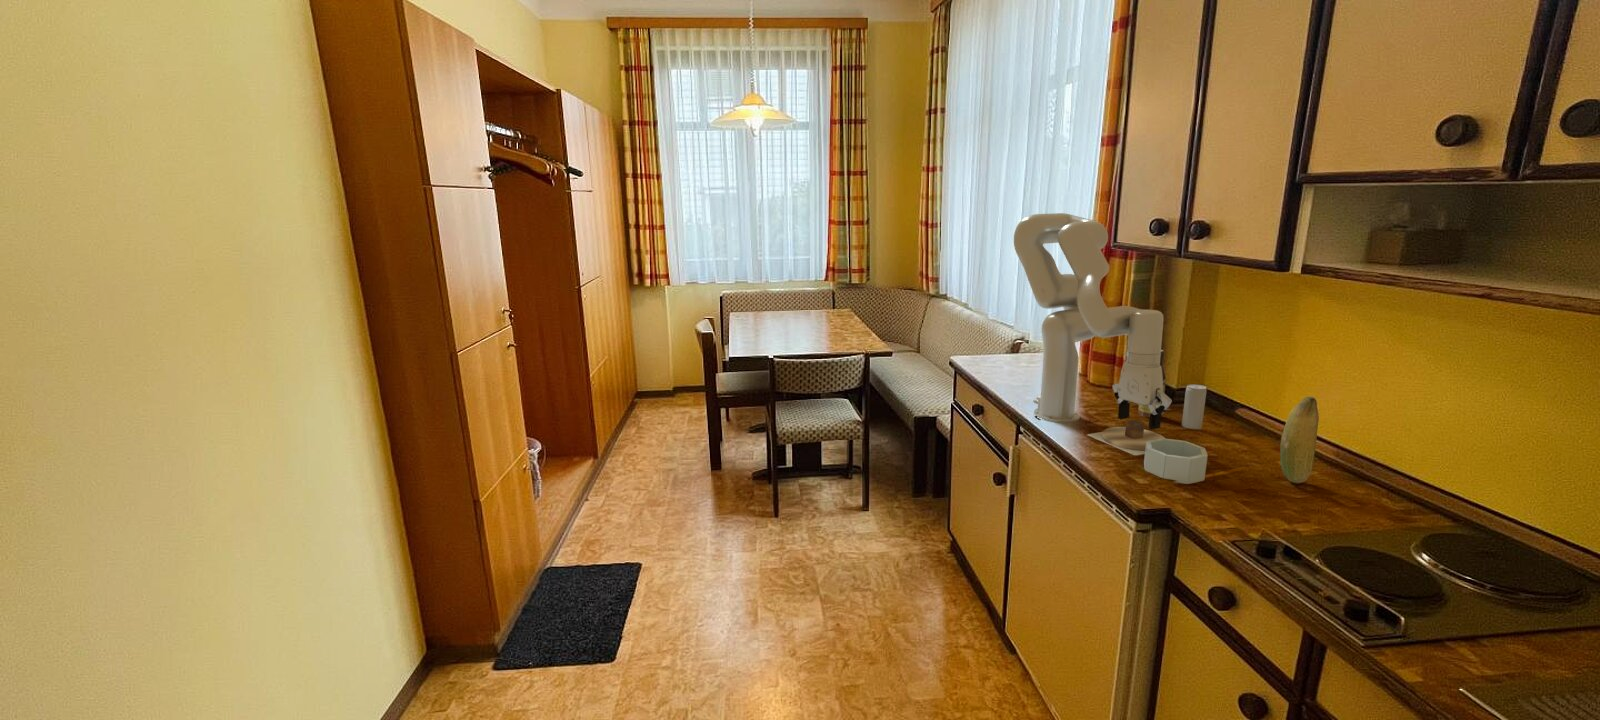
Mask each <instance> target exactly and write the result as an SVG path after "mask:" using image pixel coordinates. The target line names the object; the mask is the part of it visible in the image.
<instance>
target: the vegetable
mask: <svg viewBox="0 0 1600 720" xmlns="http://www.w3.org/2000/svg"><path fill="white" fill-rule="evenodd" d="M1317 401H1318V400H1317V399H1316V398H1315V397H1313V396H1306V397H1304V398H1303V399H1302V400H1301V401H1300V402H1299V403H1298V404H1296V405H1295V406H1294V407H1293V408H1292V409H1291V411H1290V413H1289V415H1288V416H1287V420H1286V423H1285V425H1284V428H1283V431H1282V434H1281V437H1280V445H1279V446H1280V447H1279V448H1280V450H1279V451H1280V452H1279V457H1280V458H1279V459H1280V467H1281V470H1282V473H1283V475H1284V476H1285V478H1286V479H1287V480H1288V481H1289V482H1290V483H1294V484H1303V483H1304V482H1306V481H1307V480H1308V479H1309V478H1310V475H1311V474H1312V472H1313V468H1314V462H1315V453H1316V447H1317V436H1318V429H1319V428H1318V427H1319V418H1320V415H1319V410H1318V402H1317Z"/></svg>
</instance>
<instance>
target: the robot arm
mask: <svg viewBox="0 0 1600 720" xmlns="http://www.w3.org/2000/svg"><path fill="white" fill-rule="evenodd" d="M1108 241H1109V233H1108V230H1107V228H1106V227H1105V226H1104V225H1103V224H1102V223H1101V222H1099V221H1096V220H1093V219H1089V218H1086V217H1082V216H1077V215H1074V214H1070V213H1069V214H1068V213H1064V212H1063V213H1062V212H1061V213H1060V212H1058V213H1056V212H1055V213H1036V214H1030V215H1028V216H1026V217H1024V218H1023V219H1021V220H1020V221H1019V222H1018V224H1017V225H1016V228H1015V230H1014V234H1013V246H1014V247H1013V248H1014V250H1015V254H1016V255H1017V257H1018V259H1019V261H1020V263H1021V265H1022V267H1023V270H1024V272H1025V275H1026V278H1027V280H1028V281H1027V282H1028V283H1029V285H1030V288H1031V291H1032V294H1033V296H1034V298H1035V301H1036V303H1037V304H1038V306H1039V307H1041V308H1042V309H1050V310H1052V309H1058V308H1063V310H1062V309H1061V310H1057V311H1054V312H1052V313H1050V314H1048V315H1047V316H1046V317H1045V318H1044V319H1043V321H1042V324H1041V336H1042V337H1041V338H1042V344H1043V346H1042V347H1043V349H1042V350H1043V352H1042V353H1043V354H1042V355H1043V358H1042V370H1041V371H1042V372H1041V384H1040V385H1041V386H1040V387H1041V388H1040V395H1038V396H1036V398H1034V399H1033V400H1032V402H1033V403H1034V404H1036V405H1037V408H1036V409H1034V410H1033V415H1034V414H1035V415H1036V416H1037V417H1039V418H1042V419H1044V420H1043V421H1046V420H1048V421H1047V422H1051V421H1052V422H1053V423H1065V424H1066V423H1074V422H1077V421H1079V420H1080V417H1081V415H1080V413H1079V412H1077V411H1076V409H1075V408H1076V397H1077V396H1076V395H1077V383H1078V374H1079V360H1080V359H1079V354H1078V353H1079V352H1078V350H1077V347H1076V342H1077V343H1079V342H1083V341H1088V340H1091V339H1093V338H1094V337H1098V338H1101V339H1103V338H1106V339H1107V338H1111V337H1112V338H1113V337H1117V336H1125V335H1128V336H1127V337H1128V338H1127V348H1126V349H1127V350H1126V351H1125V352H1124V356H1126V361H1123V363H1122V368H1121V371H1120V375H1119V380H1118V383H1115V384H1112V386H1111V387H1112V390H1113V393H1114V397H1115V399H1116V403H1117V404H1118V412H1117V413H1118V414H1117V419H1119V420H1123V419H1129V418H1130V408H1131V407H1130V406H1131V403H1133V404H1136V405H1138V406H1139V405H1143V406H1149V408H1150V410H1151V412H1152V414H1150V417H1149V419H1148V429H1149V430H1150V431H1152V430H1157V429H1160V428H1161V424H1162V415H1163V414H1164V413H1165V412H1166V411H1167V410H1168V409H1169V407H1170V406H1171V404H1172V403H1173V401H1172V398H1170V397H1169V396H1168V395H1167V394H1166V393H1165V392H1164V393H1163V376H1162V368H1161V366H1160V356H1161V350H1162V344H1163V343H1162V341H1163V330H1164V314H1163V313H1162V311H1159V310H1157V309H1141V308H1137V307H1134V306H1130V305H1120V306H1112V307H1108V306H1107V304H1106V303H1105V301H1104V299H1103V296H1102V295H1101V294H1102V293H1101V289H1100V286H1101V285H1100V284H1101V282H1102V280H1103V278H1104V277H1106V276H1107V274H1109V271H1110V264H1109V263H1108V260H1107V259H1106V256H1104V253H1103V252H1102V249H1104V248H1105V247H1106V245H1107V243H1108ZM1056 243H1057V244H1058V245H1059V247H1060V249H1061V251H1062V253H1063V255H1064V257H1065V259H1066V260H1067V262H1068V264H1069V267H1070V268H1071V270H1072V273H1073V274H1072V273H1064V274H1062V273H1061V272H1060V271H1059V268H1058V267H1057V264H1056V263H1057V262H1056V260H1055V259H1054V257H1053V255H1052V254H1051V253H1050V251H1048V250H1047V249H1046V248H1045V246H1044V244H1056ZM1161 401H1162V405H1161V404H1160V403H1161ZM1154 405H1155V406H1156V408H1157V409H1156V408H1155V406H1154ZM1161 414H1162V415H1161ZM1052 422H1051V423H1052Z"/></svg>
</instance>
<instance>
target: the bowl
mask: <svg viewBox="0 0 1600 720" xmlns="http://www.w3.org/2000/svg"><path fill="white" fill-rule="evenodd" d="M1208 457H1209V455H1208V452H1207V450H1206V448H1205V447H1203V446H1200V445H1197V444H1195V443H1192V442H1190V441H1187V440H1183V439H1182V440H1181V439H1180V440H1179V439H1173V438H1166V437H1164V438H1160V439H1155V440H1149V441H1146V448H1145V454H1144V458H1143V466H1144V471H1145V472H1148V473H1150V474H1152V475H1154V476H1157V477H1158V478H1161V479H1165V480H1172V481H1171V482H1172V483H1179V484H1185V485H1190V484H1195V483H1199V482H1203V481H1205V478H1206V470H1207V462H1208Z"/></svg>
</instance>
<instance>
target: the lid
mask: <svg viewBox="0 0 1600 720" xmlns="http://www.w3.org/2000/svg"><path fill="white" fill-rule="evenodd" d="M1145 426H1146V425H1145V422H1142V421H1139V420H1137V419H1131V420H1126V422H1125V426H1114V427H1108V428H1106V429H1104V430H1103V431H1101V432H1102V438H1103V439H1104V440H1105V441H1106V442H1108V443H1110V444H1112V445H1114V446H1117V447H1121V448H1125V449H1130V450H1138V451H1145V448H1146V441H1149V440H1155V439H1160V438H1165V437H1164V436H1163V435H1161V434H1159V433H1157V432H1155V431H1152V430H1150V429H1149V430H1148V429H1145Z"/></svg>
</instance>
